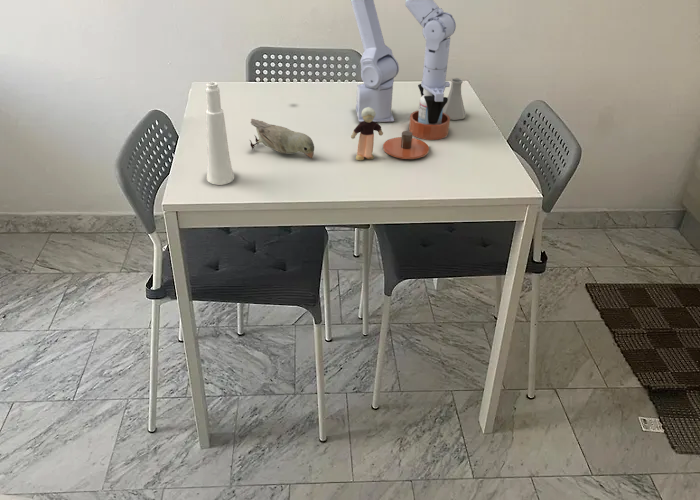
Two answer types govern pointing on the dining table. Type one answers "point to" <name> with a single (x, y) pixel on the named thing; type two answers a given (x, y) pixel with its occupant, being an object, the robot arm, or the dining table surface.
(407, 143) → the lid
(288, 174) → the dining table surface
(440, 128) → the bowl
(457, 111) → the flask
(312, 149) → the decorative bird
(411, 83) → the dining table surface
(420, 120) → the pill bottle
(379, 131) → the grandmother figurine
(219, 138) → the cosmetic bottle
